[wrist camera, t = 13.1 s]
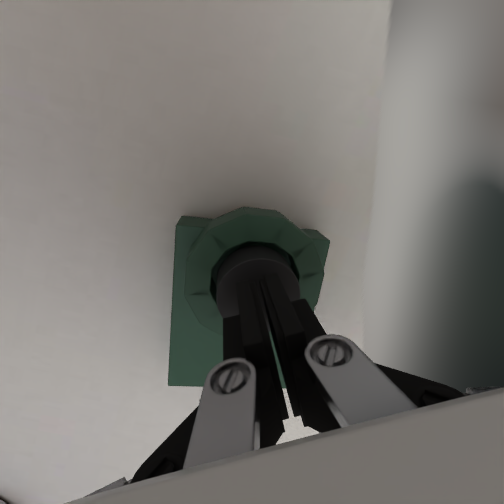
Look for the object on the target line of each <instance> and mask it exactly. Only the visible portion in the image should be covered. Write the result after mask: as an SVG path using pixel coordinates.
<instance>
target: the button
mask: <svg viewBox="0 0 504 504" xmlns="http://www.w3.org/2000/svg"><path fill="white" fill-rule="evenodd" d="M275 272H277V274H278V276H279V278H280V280H281V282H282V284H283V286H284V289H285V291H286V293H287V295H288V297H289V299H290V301H295V300H299V299H300V285H299V282H298V280H297V278H296V276H295V274H294V273H293V271H292V269H291V268H290V266H289V264H288V263H287V261H286V260H285V258H284V257H283V256H282V255H281V254H279V253H278V252H277V251H275V250H273V249H271V248H269V247H265V246H258V245H254V246H247V247H243V248H240V249H238V250H236V251H234V252H233V253H231V254H230V255H229V256H228V257H227V258H226V259H225V260H224V261H223V263H222V264H221V266H220V268H219V271H218V275H217V291H216V302H217V307H218V310H219V312H220V314H221V316H222V318H226V317H231V316H235V315H239V307H238V298H237V289H236V282H238V281H243V280H247V279H249V281H250V282H254V281H255V283H256V287H257V291H258V294H259V298H260V302H261V306H262V309H263V313H264V317H265V320H266V324H267V328H268V332H270V331H271V330H270V326H269V321H268V317H267V313H266V308H265V304H264V300H263V295H262V291H261V287H260V282H259V280H262V279H264V276H263V275H267V274H271V273H275Z"/></svg>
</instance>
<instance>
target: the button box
mask: <svg viewBox="0 0 504 504" xmlns="http://www.w3.org/2000/svg"><path fill="white" fill-rule="evenodd" d="M329 244H330V240H328V239H327V238H326V237H325V236H323V235H322V234H321V233H320V232H318V231H317V230H310V229H301V228H299V227H298V226H296V225H295V224H294V223H293V222H291V221H290V220H289V219H287V218H286V217H285V216H284V215H282V214H281V213H280V212H278V211H275V210H267V209H258V208H250V207H241V208H239V209H236V210H234V211H232V212H229V213H227V214H225V215H222V216H220V217H218V218H215V219H209V218H200V217H190V216H181V218H180V220H179V221H178V223H177V225H176V232H175V252H174V272H173V292H172V313H171V333H170V353H169V373H168V386H199V387H204V383H205V379H206V377H207V375H208V373H209V372H210V371H211V369H212V368H213V367H214V366H216V365H217V364H218V363H220V362H222V361H223V318H222V316H221V314H220V312H219V310H218V307H217V302H216V291H217V275H218V271H219V268H220V266H221V264H222V263H223V261H224V260H225V259H226V258H227V257H228V256H229V255H230V254H231V253H233V252H234V251H236V250H238V249H240V248H243V247H247V246H254V245H258V246H265V247H269V248H271V249H273V250H275V251H277V252H278V253H279V254H281V255H282V256H283V257H284V258H285V260H286V261H287V263H288V264H289V266H290V268H291V269H292V271H293V273H294V274H295V276H296V278H297V280H298V282H299V285H300V299H303V298H305V299H306V300H307V302H308V304H309V306H310V307H311V309H312V311H313V312H314V308H315V306H316V304H317V302H318V298H319V294H320V290H321V285H322V281H323V277H324V266H325V261H326V257H327V253H328V249H329ZM269 335H270V339H271V343H272V347H273V352H274V356H275V360H276V365H277V369H278V373H279V377H280V382H281V386H282V388H286V385H285V382H284V378H283V375H282V371H281V368H280V364H279V360H278V357H277V353H276V350H275V346H274V342H273V339H272V334H271V331H270V332H269Z"/></svg>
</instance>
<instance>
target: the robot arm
mask: <svg viewBox="0 0 504 504" xmlns="http://www.w3.org/2000/svg"><path fill="white" fill-rule="evenodd" d="M263 276H264V279H262V280H259V282H260V287H261V291H262V295H263V300H264V304H265V308H266V313H267V317H268V321H269V326H270V330H271V334H272V339H273V342H274V346H275V350H276V353H277V357H278V360H279V364H280V368H281V371H282V375H283V378H284V382H285V385H286V389H287V393H288V396H289V400H290V403H291V407H292V410H293V414H294V417H296V416H300V415H301V418H302V421H303V425H304V427H306V426H309V427H311V428H313V429H315V430H316V431H318V432H319V434H316V435H312V436H308V437H304V438H300V439H297V440H293V441H289V442H285V443H281V444H278V445H276V443H277V441H278V440H279V438H280V436H281V435H282V433H283V432H285V429H284V425H283V421H282V420H285V419H289V416H288V412H287V407H286V403H285V399H284V395H283V390H282V386H281V382H280V377H279V373H278V369H277V365H276V360H275V356H274V352H273V347H272V343H271V339H270V335H269V332H268V328H267V324H266V320H265V317H264V313H263V309H262V306H261V302H260V298H259V294H258V291H257V287H256V283H255V281H254V282H250V281H249V279H247V280H243V281H238V282H236V289H237V298H238V307H239V315H235V316H231V317H226V318H223V361H222V362H220V363H218V364H217V365H216V366H214V367H213V368H212V369H211V371H210V372H209V373H208V375H207V377H206V379H205V383H204V387H203V391H202V395H201V399H200V403H199V406H198V407H197V408H196V409H195V410H194V411H193V412H192V413H191V414H190V415H189V416H188V417H187V418H186V419H185V420H184V421H183V422H182V423H181V424H180V425H179V426H178V428H177V429H176V430H175V431H174V432H173V433H172V434H171V435H170V436H169V437H168V438H167V439H166V440H165V441H164V442H163V443H162V444H161V445H160V446H159V447H158V448H157V449H156V450H155V451H154V452H153V453H152V455H151V456H150V457H149V458H148V459H147V460H146V461H145V462H144V463H143V464H142V465H141V467H140V468H139V469H138V470H137V472H136V473H135V475H134V477H133V479H131V480H129V481H126V479H125V477H123V478H121V479H119V480H117V481H115V482H113V483H111V484H109V485H107V486H105V487H103V488H101V489H99V490H97V491H95V492H93V493H91V494H89V495H87V496H85V497H83V498H80V499H77V500H74V501H71V502H67V503H64V504H504V386H501V387H479V388H467V390H466V393H461V392H459V391H458V390H456V389H454V388H451V387H449V386H447V385H444V384H441V383H437V382H434V381H431V380H428V379H424V378H421V377H418V376H415V375H411V374H408V373H405V372H402V371H399V370H395V369H392V368H389V367H385V366H382V365H379V364H376V363H373V361H372V360H371V359H370V358H368V356H366V354H365V353H364V352H363V351H362V350H361V349H360V348H359V347H358V346H357V345H356V344H355V343H354V342H352V341H351V340H350V339H348V338H346V337H343V336H340V335H334V334H329V335H327V334H326V333H325V331H324V329H323V328H322V326H321V324H320V323H319V321H318V319H317V317H316V316H315V314H314V312H313V311H312V309H311V307H310V306H309V304H308V302H307V300H306V299H305V298H303V299H299V300H295V301H290V299H289V297H288V295H287V293H286V291H285V289H284V286H283V284H282V282H281V280H280V278H279V276H278V274H277V272H275V273H271V274H267V275H263Z"/></svg>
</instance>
